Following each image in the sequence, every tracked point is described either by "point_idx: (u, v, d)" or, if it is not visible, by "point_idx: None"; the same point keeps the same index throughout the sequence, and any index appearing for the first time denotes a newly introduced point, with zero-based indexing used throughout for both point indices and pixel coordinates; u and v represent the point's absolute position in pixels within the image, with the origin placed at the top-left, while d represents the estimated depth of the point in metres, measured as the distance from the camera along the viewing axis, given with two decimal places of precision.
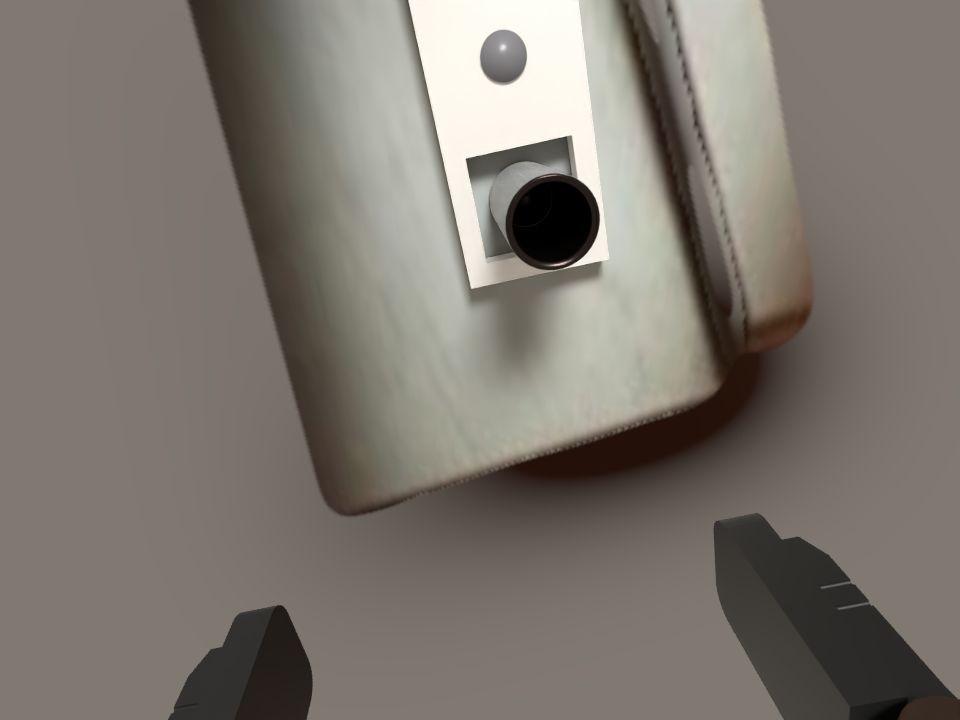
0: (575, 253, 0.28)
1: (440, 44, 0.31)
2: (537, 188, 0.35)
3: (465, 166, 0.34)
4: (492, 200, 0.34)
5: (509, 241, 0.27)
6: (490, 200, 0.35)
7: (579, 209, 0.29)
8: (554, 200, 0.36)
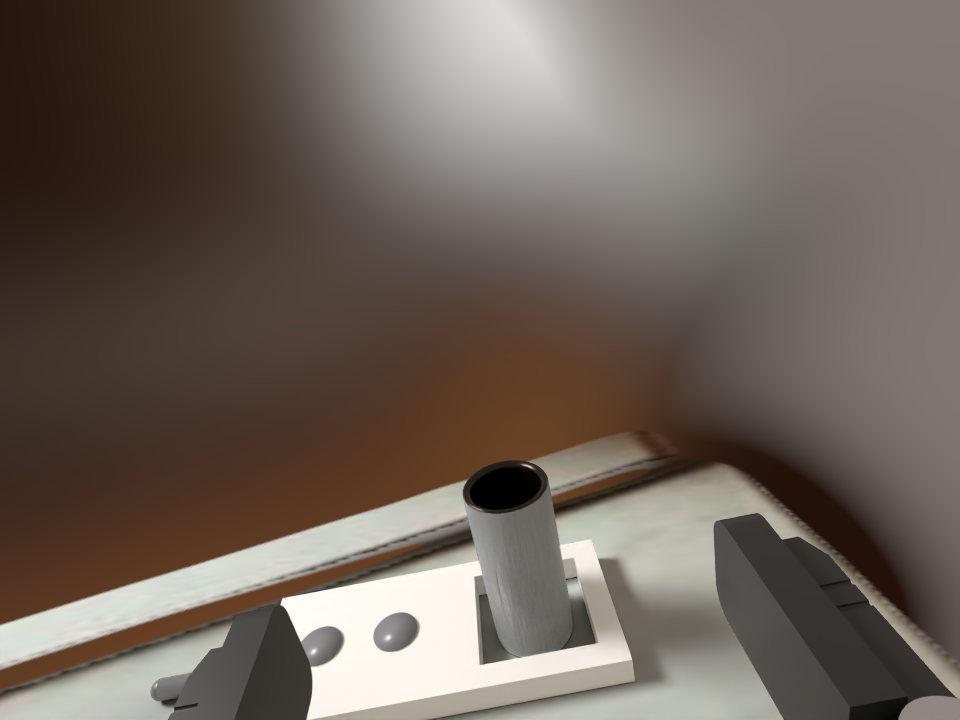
0: (534, 470, 0.31)
1: (367, 687, 0.30)
2: None
3: (487, 665, 0.30)
4: (520, 624, 0.31)
5: (516, 509, 0.28)
6: (527, 642, 0.31)
7: (509, 500, 0.32)
8: None
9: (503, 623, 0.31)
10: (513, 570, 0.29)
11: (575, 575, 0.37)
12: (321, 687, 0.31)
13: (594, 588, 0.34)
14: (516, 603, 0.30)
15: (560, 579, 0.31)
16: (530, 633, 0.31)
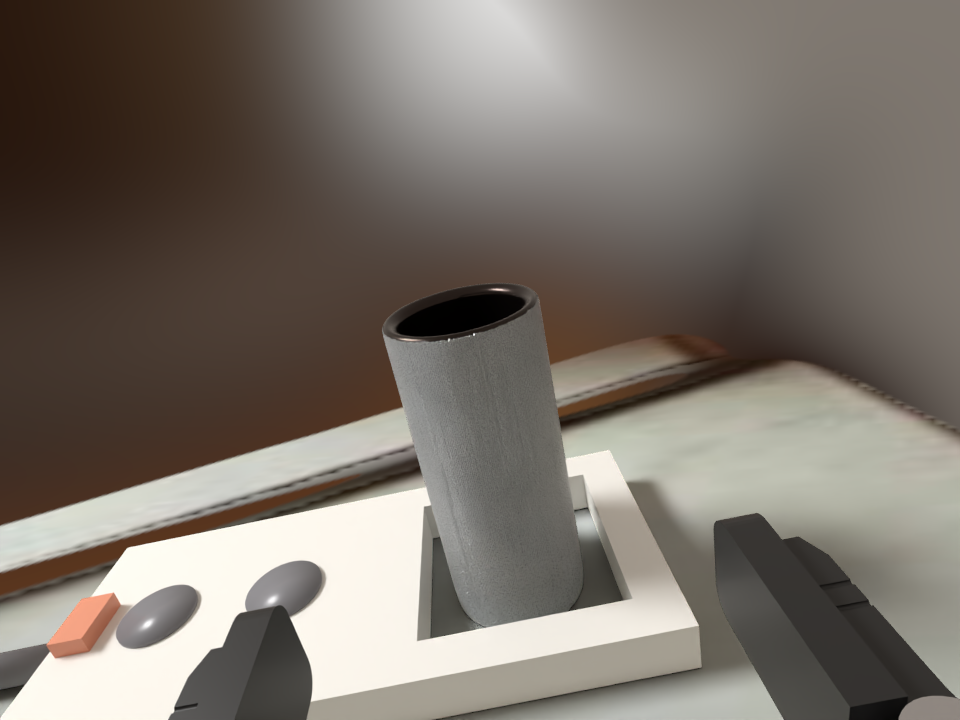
0: (513, 292, 0.17)
1: None
2: None
3: (431, 640, 0.17)
4: (491, 567, 0.17)
5: (476, 331, 0.14)
6: (504, 601, 0.18)
7: None
8: None
9: (462, 569, 0.18)
10: (474, 461, 0.16)
11: (585, 505, 0.23)
12: (137, 684, 0.17)
13: (619, 515, 0.20)
14: (482, 527, 0.17)
15: (562, 487, 0.17)
16: (509, 584, 0.17)
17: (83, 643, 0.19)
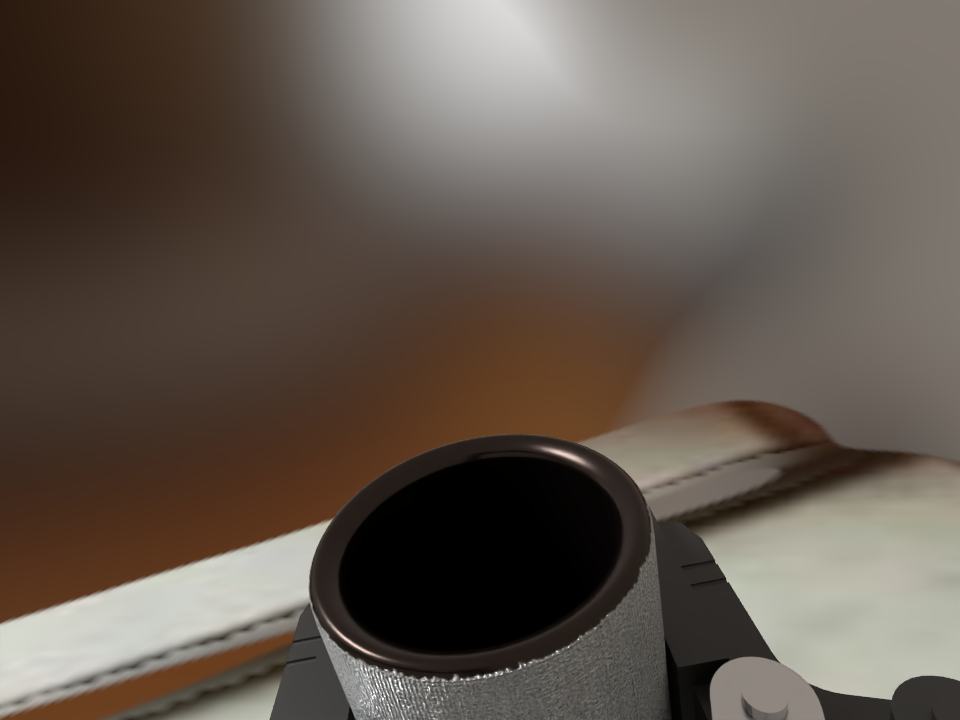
0: (584, 469, 0.08)
1: None
2: None
3: None
4: None
5: (525, 656, 0.06)
6: None
7: (499, 564, 0.10)
8: None
9: None
10: None
11: None
12: None
13: None
14: None
15: None
16: None
17: None
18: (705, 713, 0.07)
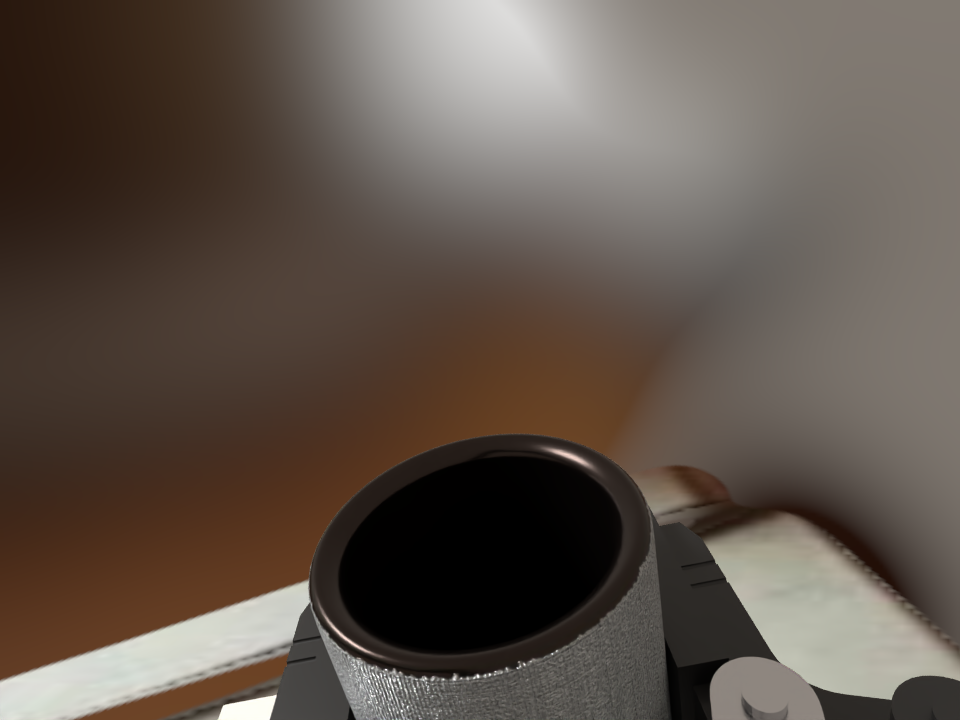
0: (584, 468, 0.08)
1: None
2: None
3: None
4: None
5: (525, 655, 0.06)
6: None
7: (499, 563, 0.10)
8: None
9: None
10: None
11: None
12: None
13: None
14: None
15: None
16: None
17: None
18: (705, 713, 0.07)
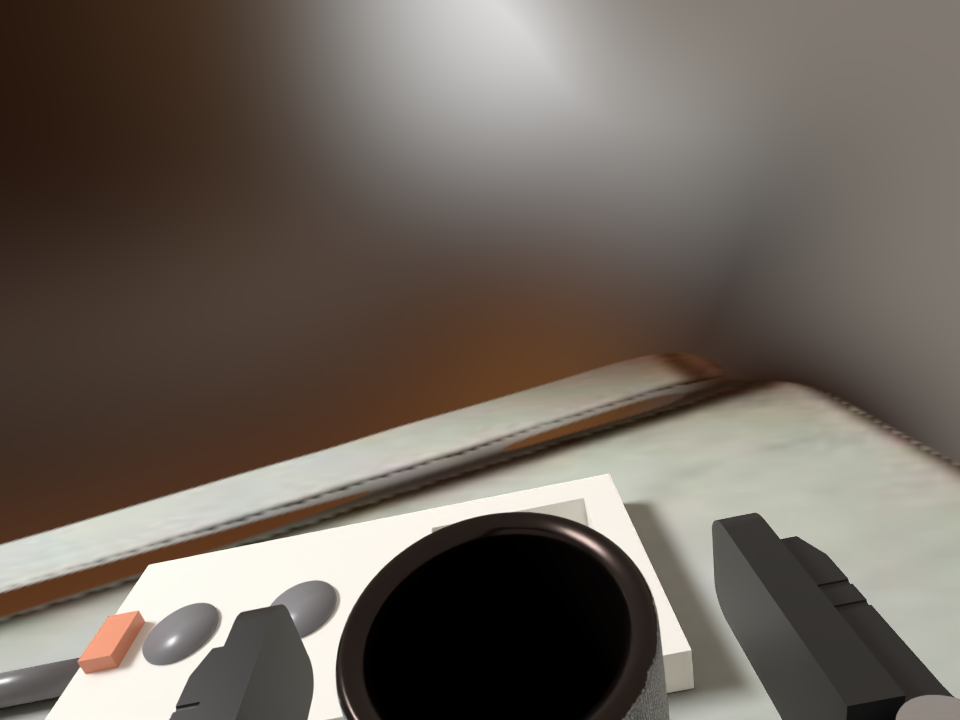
0: (593, 554, 0.09)
1: None
2: None
3: None
4: None
5: None
6: None
7: (510, 630, 0.11)
8: None
9: None
10: None
11: None
12: (164, 700, 0.18)
13: (618, 539, 0.21)
14: None
15: None
16: None
17: (112, 660, 0.20)
18: None
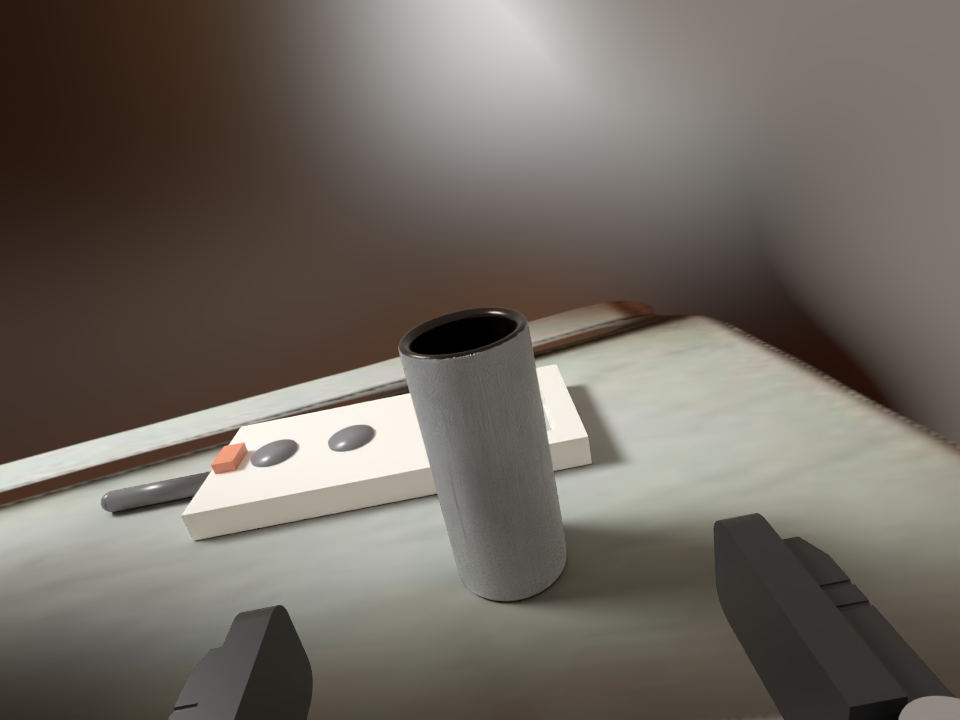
0: (507, 315, 0.20)
1: (317, 476, 0.30)
2: None
3: None
4: (487, 545, 0.21)
5: (476, 351, 0.18)
6: (498, 574, 0.21)
7: None
8: None
9: (463, 547, 0.21)
10: (474, 456, 0.19)
11: None
12: (271, 479, 0.30)
13: (555, 394, 0.33)
14: (480, 512, 0.20)
15: (547, 479, 0.21)
16: (502, 560, 0.21)
17: (233, 464, 0.32)
18: None
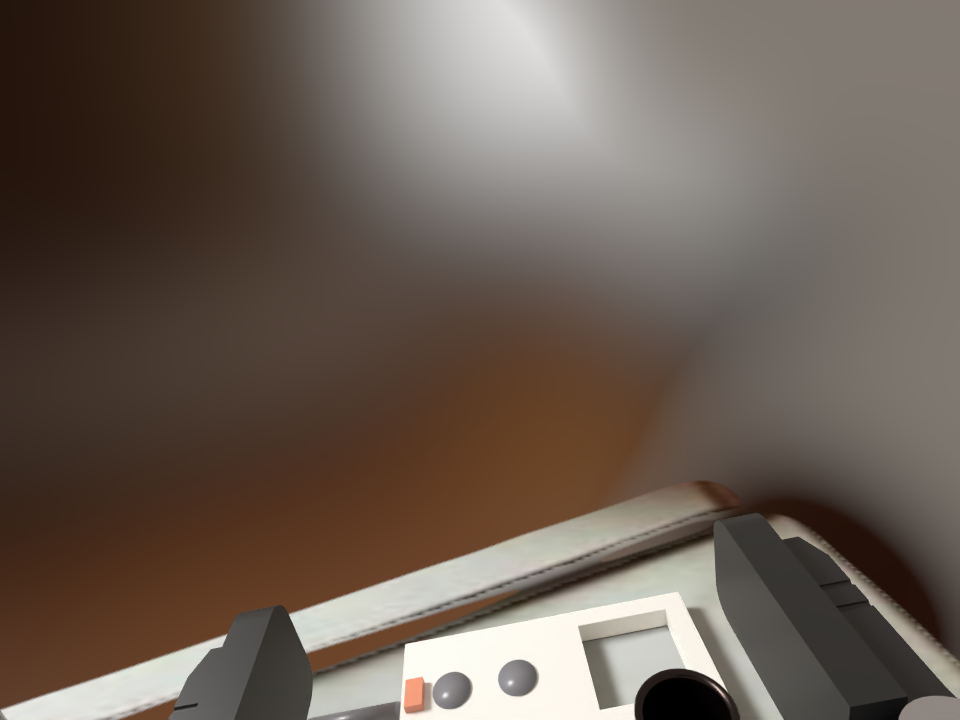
0: (714, 689, 0.26)
1: None
2: None
3: (607, 709, 0.35)
4: None
5: None
6: None
7: (675, 710, 0.28)
8: None
9: None
10: None
11: (665, 624, 0.42)
12: None
13: (689, 639, 0.39)
14: None
15: None
16: None
17: (421, 706, 0.38)
18: None
